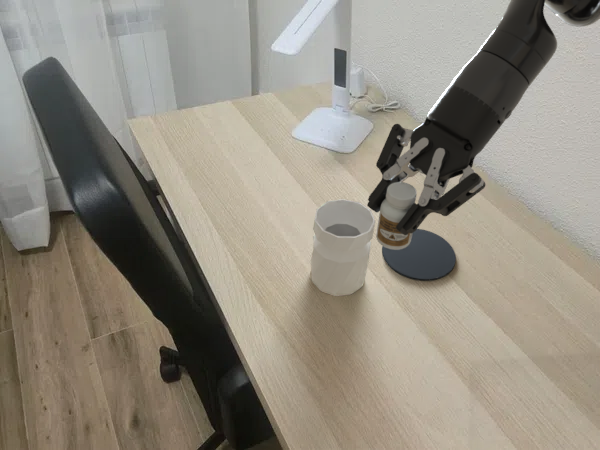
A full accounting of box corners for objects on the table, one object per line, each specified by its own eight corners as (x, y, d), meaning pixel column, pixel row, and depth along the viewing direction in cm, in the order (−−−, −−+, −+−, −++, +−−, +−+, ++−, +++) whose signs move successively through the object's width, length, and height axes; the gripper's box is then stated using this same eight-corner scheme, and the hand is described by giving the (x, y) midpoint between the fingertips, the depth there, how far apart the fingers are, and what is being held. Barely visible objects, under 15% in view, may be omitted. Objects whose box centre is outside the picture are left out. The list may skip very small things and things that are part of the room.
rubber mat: (443, 228, 96) (443, 226, 95) (465, 278, 87) (465, 277, 86) (375, 231, 95) (375, 229, 94) (390, 282, 86) (391, 281, 85)
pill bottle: (373, 247, 68) (381, 198, 63) (378, 224, 71) (385, 176, 66) (409, 253, 68) (419, 205, 62) (412, 230, 71) (422, 182, 66)
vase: (299, 269, 87) (301, 211, 79) (343, 249, 91) (350, 192, 83) (331, 305, 82) (337, 246, 74) (377, 282, 86) (387, 224, 78)
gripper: (420, 63, 65) (332, 180, 67) (520, 115, 56) (416, 247, 59) (442, 92, 71) (361, 199, 73) (536, 143, 62) (441, 262, 65)
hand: (386, 220), depth 66 cm, fingers closed on pill bottle, 4 cm apart
